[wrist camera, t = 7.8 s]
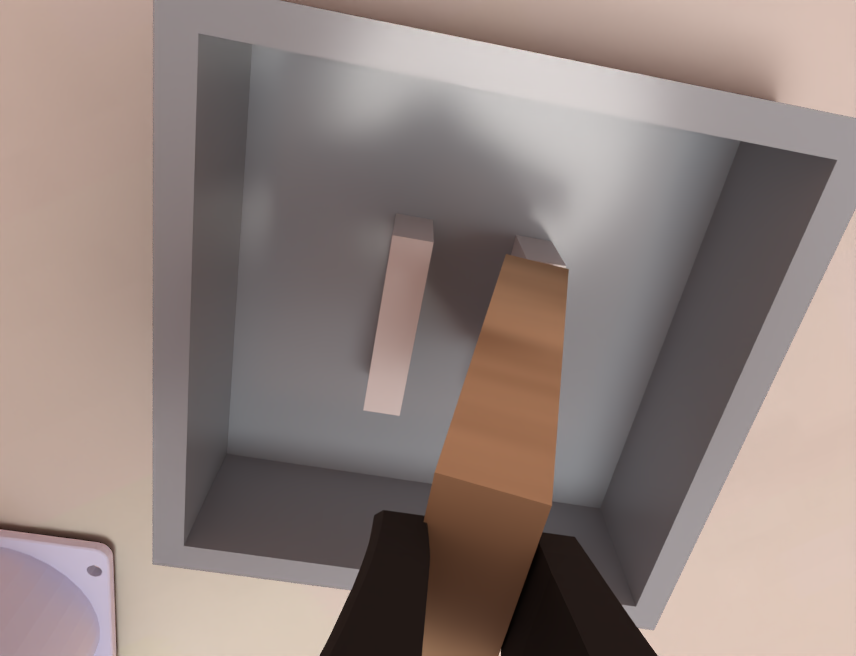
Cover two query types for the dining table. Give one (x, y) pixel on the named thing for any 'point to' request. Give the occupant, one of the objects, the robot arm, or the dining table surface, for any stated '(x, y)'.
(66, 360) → the dining table surface
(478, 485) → the wooden plank block
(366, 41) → the shallow gray planter box
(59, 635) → the robot arm
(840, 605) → the dining table surface
